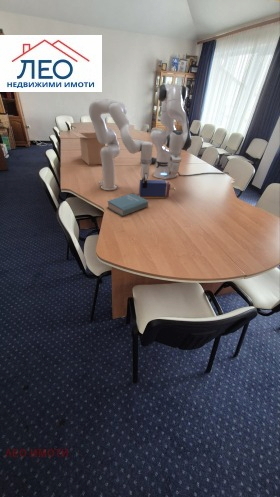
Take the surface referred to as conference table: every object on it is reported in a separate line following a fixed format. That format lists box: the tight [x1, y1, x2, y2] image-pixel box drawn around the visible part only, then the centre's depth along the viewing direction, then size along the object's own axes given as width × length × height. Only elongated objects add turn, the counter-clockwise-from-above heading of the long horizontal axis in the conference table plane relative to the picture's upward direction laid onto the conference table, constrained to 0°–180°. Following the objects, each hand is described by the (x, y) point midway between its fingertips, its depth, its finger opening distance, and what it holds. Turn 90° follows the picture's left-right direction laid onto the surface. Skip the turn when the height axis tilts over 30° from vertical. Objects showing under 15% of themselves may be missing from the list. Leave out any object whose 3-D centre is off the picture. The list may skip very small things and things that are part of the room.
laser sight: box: [139, 156, 157, 165], centre depth 240 cm, size 10×22×10 cm, turn 78°
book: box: [107, 192, 149, 217], centre depth 151 cm, size 23×16×5 cm
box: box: [70, 129, 106, 166], centre depth 229 cm, size 44×36×27 cm
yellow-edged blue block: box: [138, 179, 167, 199], centre depth 167 cm, size 20×6×12 cm, turn 97°
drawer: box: [165, 181, 177, 198], centre depth 168 cm, size 23×5×10 cm, turn 97°
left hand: (144, 185), depth 165 cm, fingers closed on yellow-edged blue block, 6 cm apart
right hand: (171, 175), depth 165 cm, fingers open, 8 cm apart
